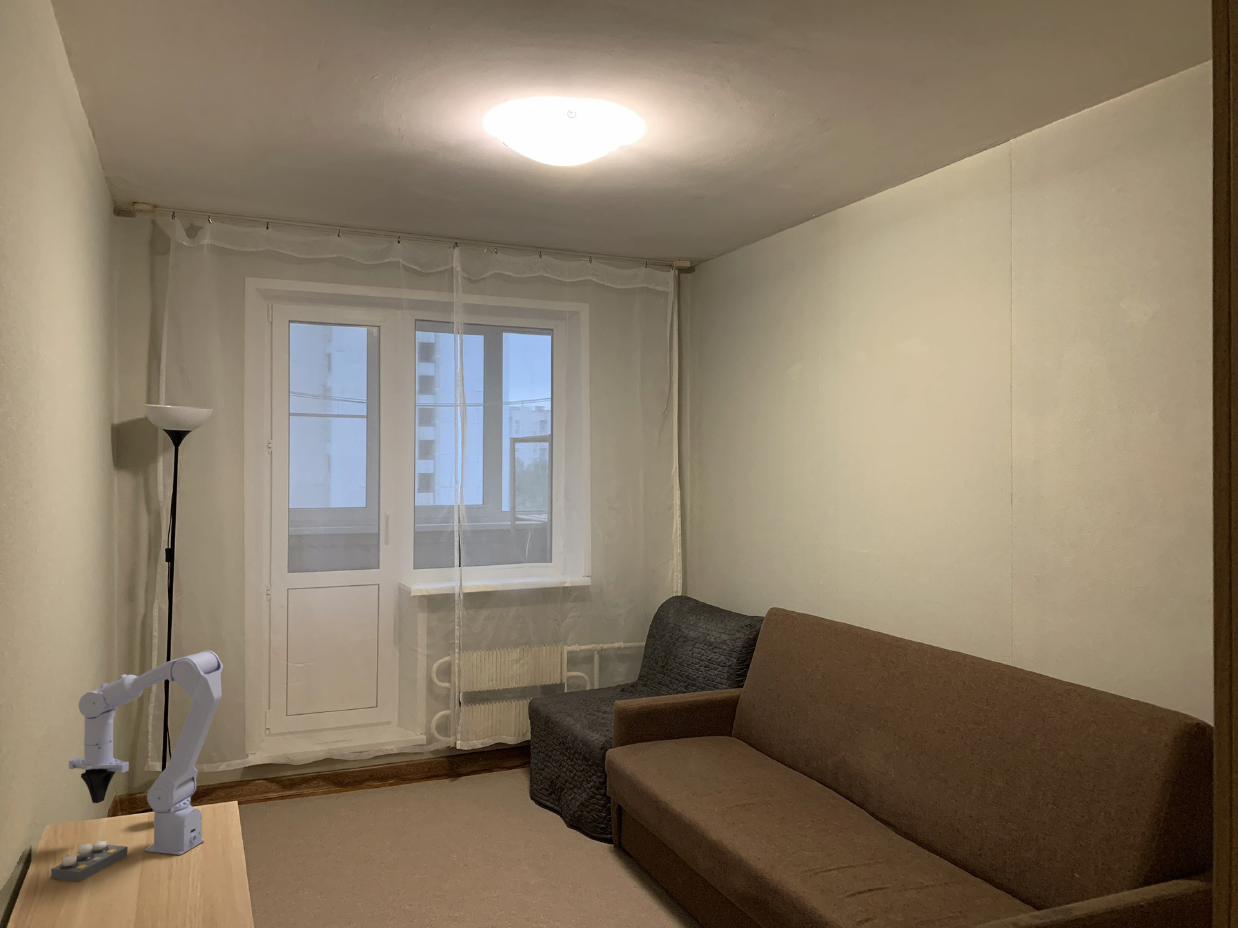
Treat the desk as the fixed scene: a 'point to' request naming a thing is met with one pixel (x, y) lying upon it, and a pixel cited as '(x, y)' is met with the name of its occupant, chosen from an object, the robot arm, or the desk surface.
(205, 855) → the desk surface
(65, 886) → the desk surface
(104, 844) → the button right
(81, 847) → the button middle
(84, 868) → the switch panel
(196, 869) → the desk surface
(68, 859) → the button left
